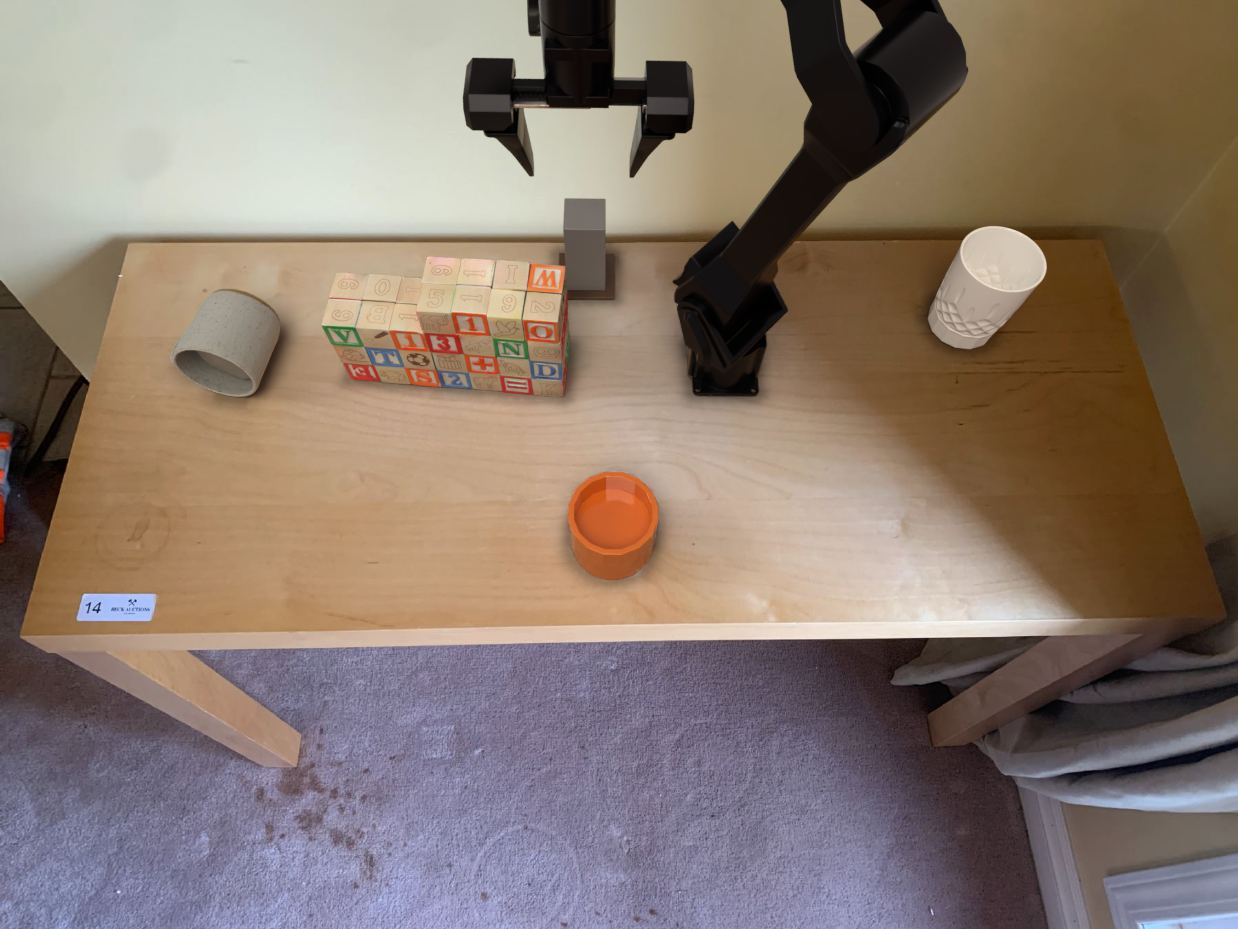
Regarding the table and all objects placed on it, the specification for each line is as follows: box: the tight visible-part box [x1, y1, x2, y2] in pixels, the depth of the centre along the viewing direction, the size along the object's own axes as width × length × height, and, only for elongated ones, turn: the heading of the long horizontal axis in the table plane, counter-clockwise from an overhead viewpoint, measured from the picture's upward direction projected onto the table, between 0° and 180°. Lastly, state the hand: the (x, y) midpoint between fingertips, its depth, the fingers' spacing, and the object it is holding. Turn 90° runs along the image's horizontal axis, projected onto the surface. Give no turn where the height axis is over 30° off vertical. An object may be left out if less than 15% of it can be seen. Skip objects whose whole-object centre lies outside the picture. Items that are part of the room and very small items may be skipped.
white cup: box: [927, 225, 1048, 350], centre depth 77 cm, size 8×8×10 cm
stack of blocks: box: [321, 256, 571, 398], centre depth 73 cm, size 21×6×12 cm, turn 86°
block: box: [562, 197, 607, 291], centre depth 79 cm, size 4×4×9 cm
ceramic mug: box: [169, 288, 282, 398], centre depth 74 cm, size 11×8×8 cm
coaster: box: [558, 252, 616, 301], centre depth 83 cm, size 6×6×1 cm
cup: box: [567, 471, 659, 581], centre depth 67 cm, size 7×7×6 cm
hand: (581, 173), depth 72 cm, fingers open, 9 cm apart
